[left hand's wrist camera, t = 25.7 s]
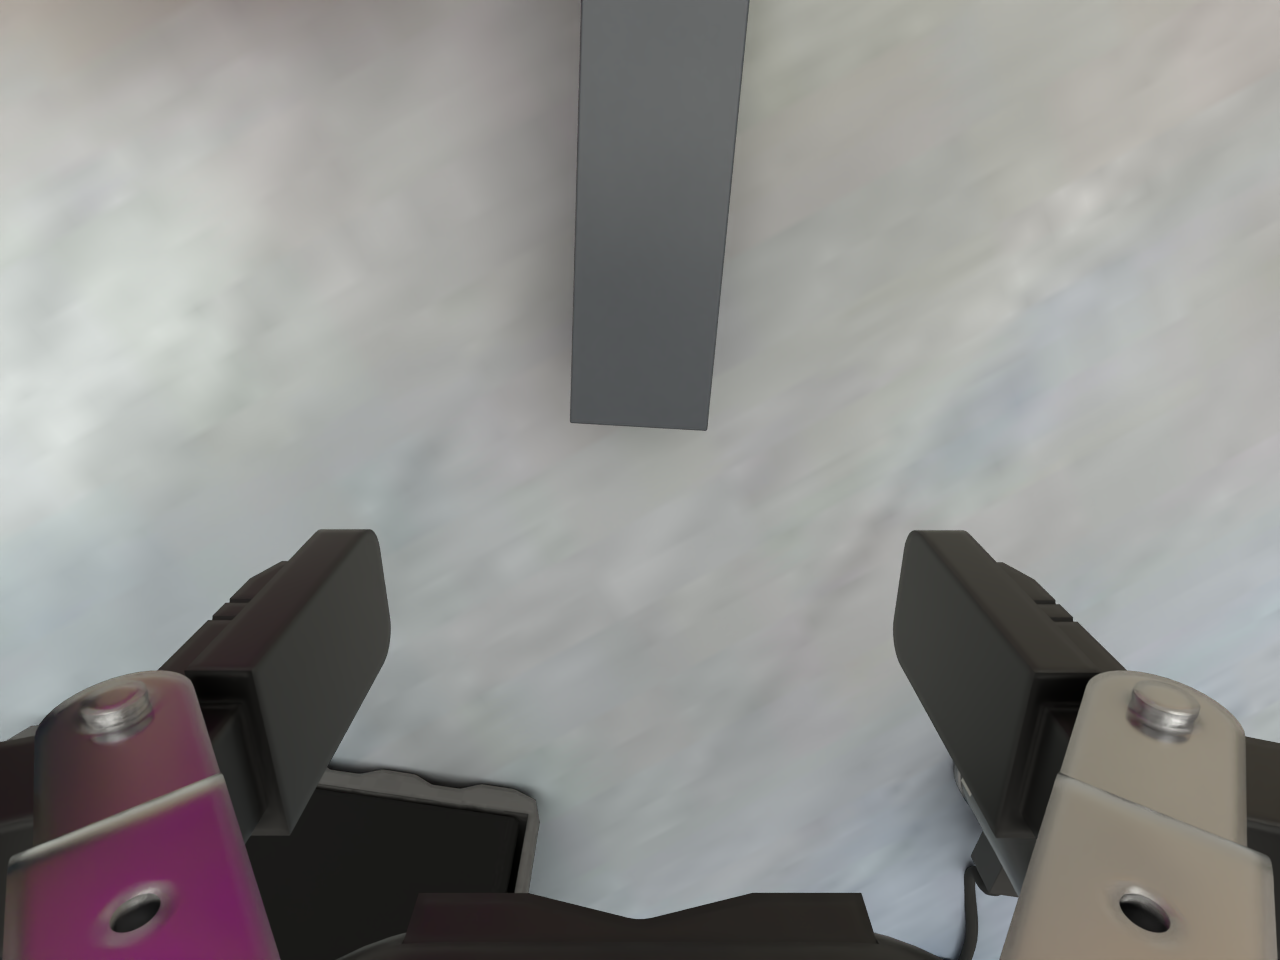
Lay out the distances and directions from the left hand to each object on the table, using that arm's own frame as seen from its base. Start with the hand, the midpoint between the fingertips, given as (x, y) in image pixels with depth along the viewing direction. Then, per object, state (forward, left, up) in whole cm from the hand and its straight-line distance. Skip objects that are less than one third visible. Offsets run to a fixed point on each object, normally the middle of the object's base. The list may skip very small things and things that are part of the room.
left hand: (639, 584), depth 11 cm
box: (+9, -2, -29) cm, 31 cm away
